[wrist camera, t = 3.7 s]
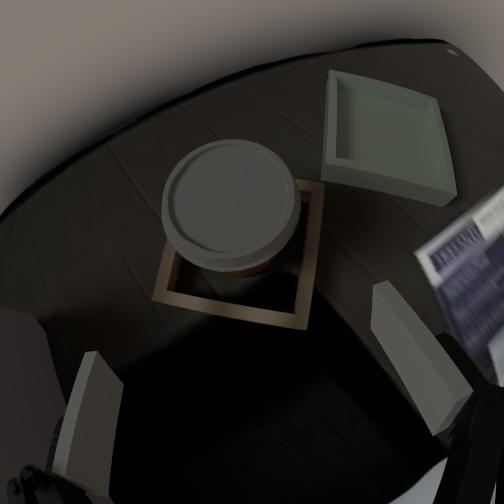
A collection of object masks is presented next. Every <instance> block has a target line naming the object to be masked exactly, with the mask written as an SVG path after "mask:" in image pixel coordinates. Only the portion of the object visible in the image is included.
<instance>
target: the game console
mask: <svg viewBox="0 0 504 504" xmlns="http://www.w3.org/2000/svg"><path fill="white" fill-rule="evenodd" d="M66 410H67V405H66V402H65V399H64V396H63V394H62V390H61V387H60V384H59V381H58V378H57V374H56V371H55V367H54V364H53V360H52V356H51V352H50V348H49V344H48V340H47V335H46V332H45V330H44V329H43V328H42V327H41V326H40V325H39V323H38V322H37V321H36V320H35V319H34V317H33V316H32V315H31V314H30V313H24V312H19V311H14V310H9V309H4V308H0V504H8V497H7V483H8V481H9V480H10V479H11V478H13V477H16V478H18V479H19V475H20V471H21V469H22V468H23V467H24V466H25V465H27V464H32V465H34V466H35V467H37V468H38V469H40V470H42V471H43V472H45V468H46V464H47V459H48V454H49V450H50V446H51V444H52V438H53V437H54V435H53V434H54V430H55V426H56V424H57V423H58V421H59V419H60V418H61V417H65V413H66ZM86 496H88V497H89V499H90V500H91V501H92V503H93V504H114V503H113V501H112V500H111V498H110V496H109V495H108V497H103V496H96V495H93V494H91V493H89V492H87V491H86Z"/></svg>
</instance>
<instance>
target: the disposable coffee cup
mask: <svg viewBox="0 0 504 504" xmlns="http://www.w3.org/2000/svg"><path fill="white" fill-rule="evenodd" d="M300 211H301V196H300V192H299V188H298V184H297V182H296V180H295V178H294V176H293V174H292V173H291V171H290V170H289V169H288V167H287V166H286V165H285V164H284V162H283V161H282V160H281V159H280V158H279V157H278V156H277V155H276V154H275V153H274V152H272V151H271V150H269V149H268V148H266V147H264V146H262V145H260V144H258V143H254V142H250V141H246V140H235V139H229V140H221V141H216V142H212V143H209V144H206V145H204V146H201V147H199V148H198V149H196V150H194V151H193V152H191V153H189V154H188V155H187V156H186V157H185V158H183V159H182V160H181V161H180V162H179V163H178V165H177V166H176V167H175V168H174V170H173V171H172V173H171V174H170V176H169V178H168V180H167V182H166V185H165V189H164V192H163V200H162V222H163V226H164V230H165V233H166V235H167V237H168V239H169V241H170V243H171V244H172V245H173V246H174V248H175V249H176V250H177V252H178V253H180V254H181V255H182V256H183V257H184V258H185V259H187V260H188V261H190V262H192V263H193V264H195V265H197V266H200V267H202V268H205V269H209V270H214V271H219V272H225V273H227V274H229V275H231V276H235V277H241V278H245V277H251V276H254V275H256V274H258V273H260V272H262V271H263V270H264V269H265V268H266V267H267V266H268V265H269V264H270V262H271V260H272V259H273V257H274V255H276V254H277V253H278V252H279V251H280V250H281V249H282V248H283V247H284V246H285V245H286V243H287V242H288V241H289V239H290V238H291V237H292V235H293V233H294V230H295V228H296V226H297V223H298V221H299V216H300Z"/></svg>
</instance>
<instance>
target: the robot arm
mask: <svg viewBox="0 0 504 504" xmlns="http://www.w3.org/2000/svg"><path fill="white" fill-rule="evenodd" d="M371 330H372V331H373V333H374V334H375V336H376V338H377V339H378V341H379V342H380V344H381V346H382V347H383V349H384V351H385V352H386V354H387V356H388V357H389V359H390V361H391V362H392V364H393V366H394V367H395V369H396V371H397V372H398V374H399V376H400V377H401V379H402V381H403V383H404V384H405V386H406V388H407V389H408V391H409V393H410V395H411V397H412V398H413V400H414V402H415V404H416V405H417V407H418V409H419V411H420V413H421V414H422V416H423V418H424V420H425V422H426V424H427V426H428V427H429V429H430V431H431V433H432V435H433V436H434V435H435V434H437V433H439V432H441V431H442V430H444V429H446V428H447V427H449V426H450V424H451V423H452V422H453V421H454V422H455V424H456V426H455V427H454V429H453V430H452V431H451V432H450V435H449V437H451V436H452V435H453V434H454V435H453V439H452V443H451V447H450V451H449V455H448V459H447V462H446V466H445V469H444V472H443V476H442V479H441V482H440V485H439V488H438V490H437V493H436V496H435V499H434V501H433V504H490V502H491V498H492V495H493V491H494V487H495V483H496V498H495V504H504V387H500V386H498V385H494V384H493V385H491V384H490V383H489V382H488V381H487V380H486V379H485V378H484V376H483V375H482V374H481V372H480V371H479V370H478V368H477V367H476V366H475V364H474V363H473V362H472V360H471V359H470V358H469V356H467V354H466V353H465V351H464V350H463V349H461V346H460V345H459V344H458V342H457V341H456V340H455V339H454V338H453V337H451V336H450V335H448V334H446V333H445V332H443V333H441V334H439V335H437V336H435V337H434V336H433V334H432V333H431V332H430V331H429V329H428V328H427V327H426V326H425V324H424V323H423V322H422V321H421V319H420V318H419V317H418V316H417V314H416V313H415V312H414V311H413V310H412V308H411V307H410V306H409V305H408V303H407V302H406V301H405V300H404V299H403V298H402V296H401V295H400V294H399V293H398V292H397V290H396V289H395V288H394V287H393V286H392V285H391V284H390V282H389V281H388V280H387V281H384V282H381V283H378V284H375V285H373V301H372V317H371ZM123 387H124V384H123V383H122V382H121V381H120V380H119V378H118V377H117V376H116V375H115V374H114V372H113V371H112V370H111V369H110V367H109V366H108V365H107V363H106V362H105V361H104V360H103V358H102V357H101V356H100V354H99V353H98V352H97V351H92V352H85V354H84V357H83V360H82V363H81V366H80V369H79V371H78V374H77V377H76V380H75V383H74V387H73V390H72V393H71V396H70V399H69V403H68V406H67V410H66V413H65V417H61V418H60V419H59V421H58V423H57V424H56V426H55V430H54V434H53V435H54V437H53V438H52V444H51V446H50V450H49V454H48V459H47V464H46V468H45V472H43V471H42V470H40V469H38V468H37V467H35V466H34V465H32V464H27V465H25V466H24V467H23V468H22V469H21V471H20V475H19V479H18V478H16V477H13V478H11V479H10V480H9V481H8V483H7V497H8V504H93V503H92V501H91V500H90V499H89V497H88V496H86V491H87V492H89V493H91V494H93V495H96V496H103V497H108V492H109V480H110V470H111V462H112V453H113V446H114V439H115V432H116V426H117V419H118V414H119V408H120V402H121V397H122V392H123Z"/></svg>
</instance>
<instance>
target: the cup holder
mask: <svg viewBox="0 0 504 504" xmlns="http://www.w3.org/2000/svg"><path fill="white" fill-rule="evenodd" d="M295 180H296V182H297V184H298V188H299V192H300V196H301V201H303V202H309V208H308V216H307V224H306V232H305V240H304V247H303V255H302V262H301V269H300V276H299V282H298V289H297V295H296V301H295V308H294V314H289V313H283V312H277V311H271V310H265V309H259V308H253V307H247V306H242V305H236V304H231V303H226V302H220V301H215V300H210V299H205V298H200V297H195V296H190V295H185V294H180V293H176V292H175V290H176V285H177V280H178V276H179V272H180V267H181V263H182V259H183V256H182V255H181V254H180V253H178V252H177V250H176V249H175V248H174V246H173V245H172V244H171V243H170V241H169V239H168V237H167V240H166V244H165V248H164V252H163V256H162V260H161V264H160V268H159V272H158V277H157V281H156V285H155V290H154V294H153V299H152V300H153V301H156V302H160V303H163V304H168V305H172V306H177V307H181V308H185V309H190V310H195V311H199V312H204V313H209V314H214V315H219V316H224V317H229V318H234V319H240V320H245V321H251V322H256V323H262V324H268V325H274V326H280V327H287V328H293V329H300V330H307V324H308V318H309V312H310V305H311V298H312V292H313V285H314V277H315V270H316V262H317V254H318V246H319V238H320V229H321V219H322V209H323V198H324V187H325V183H319V182H313V181H307V180H300V179H295Z"/></svg>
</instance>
